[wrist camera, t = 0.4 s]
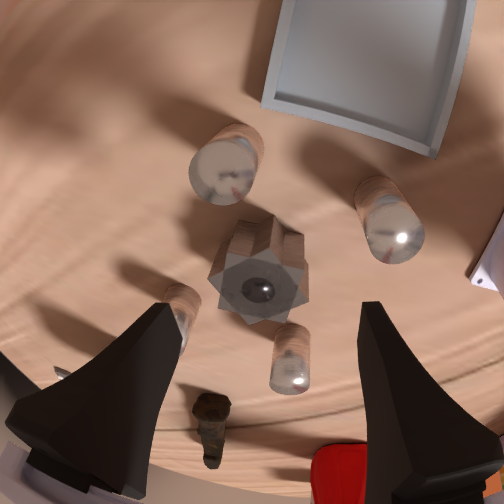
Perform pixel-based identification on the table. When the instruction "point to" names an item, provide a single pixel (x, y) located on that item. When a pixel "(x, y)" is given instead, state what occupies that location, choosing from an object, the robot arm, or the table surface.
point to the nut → (261, 272)
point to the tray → (371, 66)
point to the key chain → (61, 373)
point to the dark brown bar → (212, 426)
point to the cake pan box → (503, 470)
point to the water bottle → (339, 474)
